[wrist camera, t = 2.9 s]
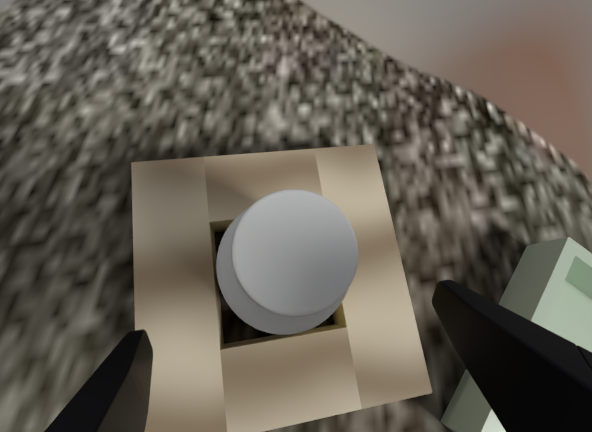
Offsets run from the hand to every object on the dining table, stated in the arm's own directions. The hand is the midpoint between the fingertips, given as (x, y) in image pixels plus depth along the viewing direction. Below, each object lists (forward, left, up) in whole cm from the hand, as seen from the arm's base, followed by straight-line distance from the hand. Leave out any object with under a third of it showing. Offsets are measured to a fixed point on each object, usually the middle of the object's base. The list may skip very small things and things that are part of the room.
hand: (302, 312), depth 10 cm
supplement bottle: (+1, +1, -9) cm, 10 cm away
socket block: (+1, +1, -9) cm, 9 cm away
